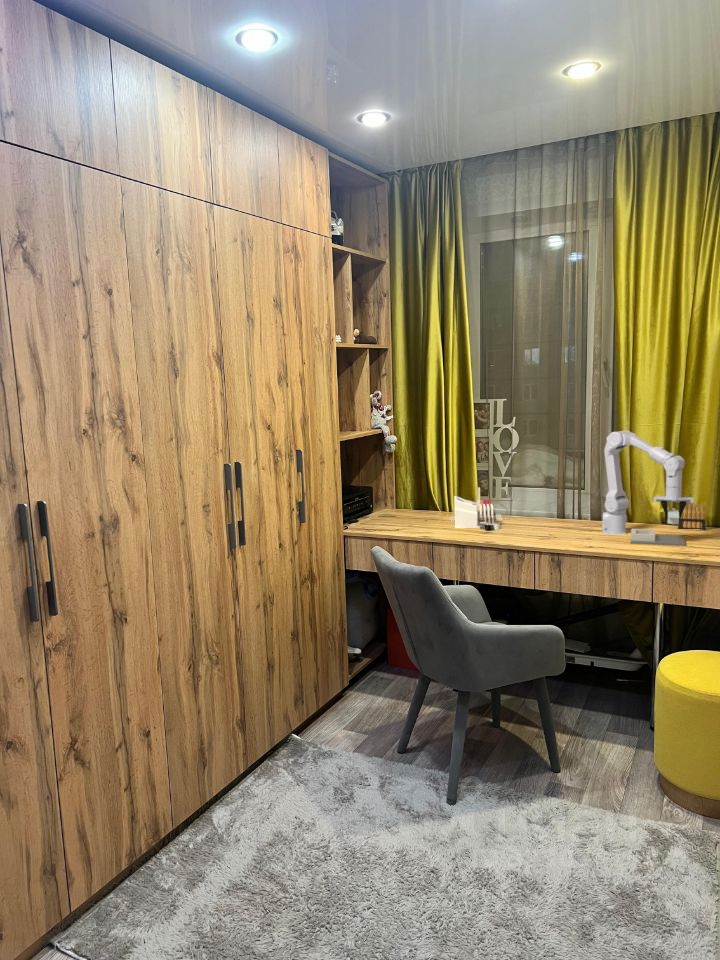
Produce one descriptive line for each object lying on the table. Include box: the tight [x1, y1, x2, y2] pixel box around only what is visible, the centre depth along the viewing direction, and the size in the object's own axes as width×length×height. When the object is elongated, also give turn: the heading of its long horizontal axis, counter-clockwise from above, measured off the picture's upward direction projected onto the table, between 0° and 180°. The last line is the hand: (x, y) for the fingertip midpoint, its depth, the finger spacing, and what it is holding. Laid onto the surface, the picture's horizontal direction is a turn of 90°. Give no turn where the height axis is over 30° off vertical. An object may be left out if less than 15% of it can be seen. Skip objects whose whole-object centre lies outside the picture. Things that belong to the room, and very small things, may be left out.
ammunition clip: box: [677, 502, 707, 531], centre depth 296 cm, size 11×2×12 cm, turn 69°
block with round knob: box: [666, 507, 679, 525], centre depth 277 cm, size 4×10×5 cm, turn 158°
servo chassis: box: [630, 528, 686, 547], centre depth 280 cm, size 20×16×4 cm
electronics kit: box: [448, 486, 504, 532], centre depth 330 cm, size 45×26×16 cm, turn 173°
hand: (672, 519), depth 277 cm, fingers closed on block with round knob, 4 cm apart
